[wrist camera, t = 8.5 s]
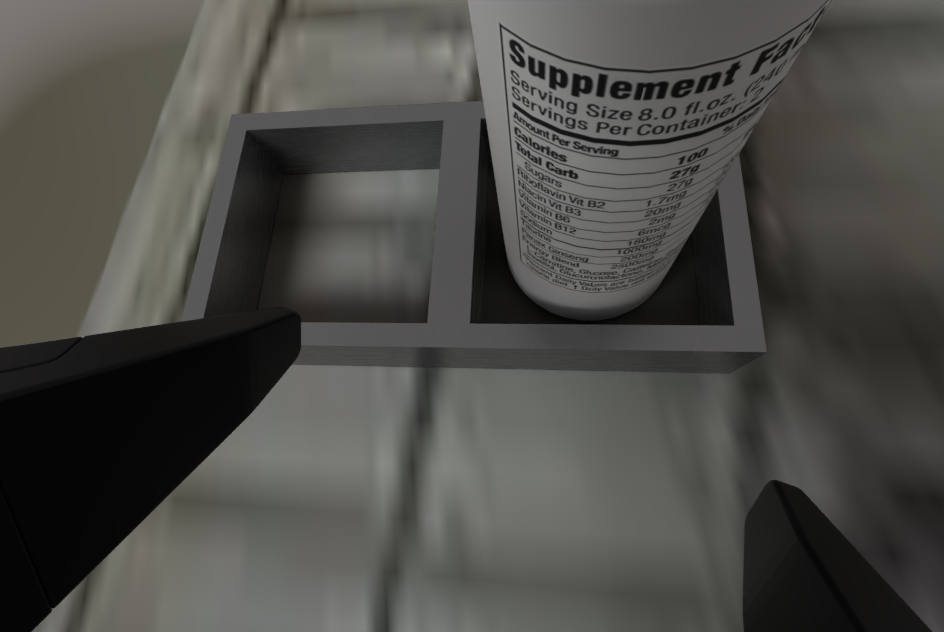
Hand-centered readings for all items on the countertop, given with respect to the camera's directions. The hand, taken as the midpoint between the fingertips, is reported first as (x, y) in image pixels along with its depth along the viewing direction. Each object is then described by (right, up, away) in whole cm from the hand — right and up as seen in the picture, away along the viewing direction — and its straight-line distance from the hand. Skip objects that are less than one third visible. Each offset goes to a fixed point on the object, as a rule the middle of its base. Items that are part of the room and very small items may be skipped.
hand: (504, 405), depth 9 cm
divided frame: (-1, +4, +11) cm, 12 cm away
